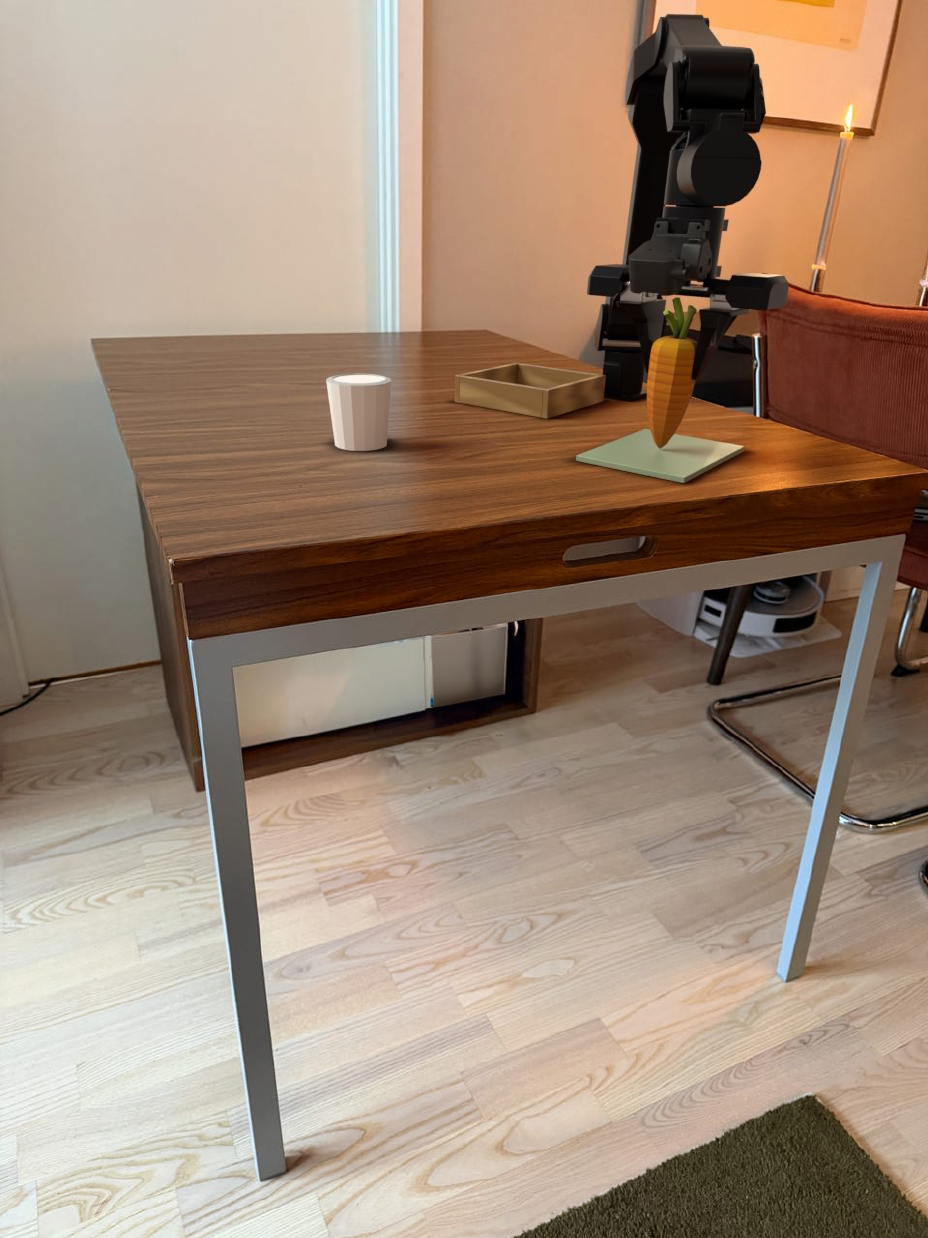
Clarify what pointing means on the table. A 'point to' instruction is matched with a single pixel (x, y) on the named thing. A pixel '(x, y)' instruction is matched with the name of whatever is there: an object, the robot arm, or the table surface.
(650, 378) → the carrot
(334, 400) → the white cup
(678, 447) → the board
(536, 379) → the wooden tray
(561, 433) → the table surface
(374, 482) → the table surface
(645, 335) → the robot arm
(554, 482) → the table surface
